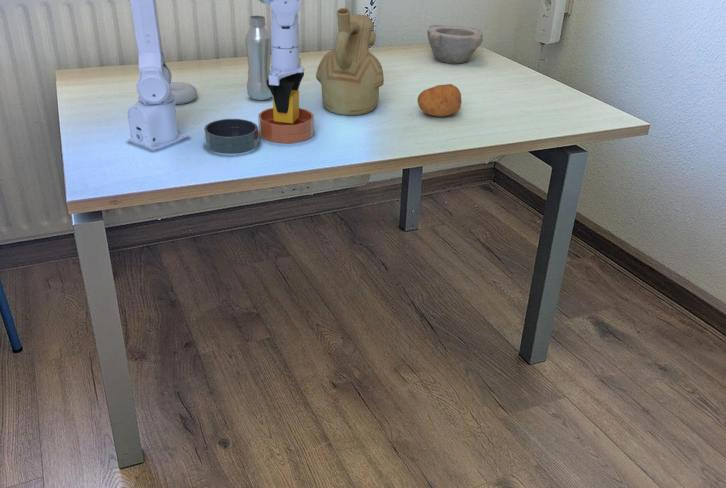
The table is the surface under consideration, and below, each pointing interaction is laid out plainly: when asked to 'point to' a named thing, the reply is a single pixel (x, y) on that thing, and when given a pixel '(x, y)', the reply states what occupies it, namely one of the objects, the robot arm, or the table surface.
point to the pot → (231, 136)
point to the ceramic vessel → (351, 68)
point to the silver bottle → (258, 58)
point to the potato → (440, 100)
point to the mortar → (453, 42)
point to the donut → (182, 92)
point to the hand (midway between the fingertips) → (286, 108)
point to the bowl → (286, 127)
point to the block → (292, 109)
